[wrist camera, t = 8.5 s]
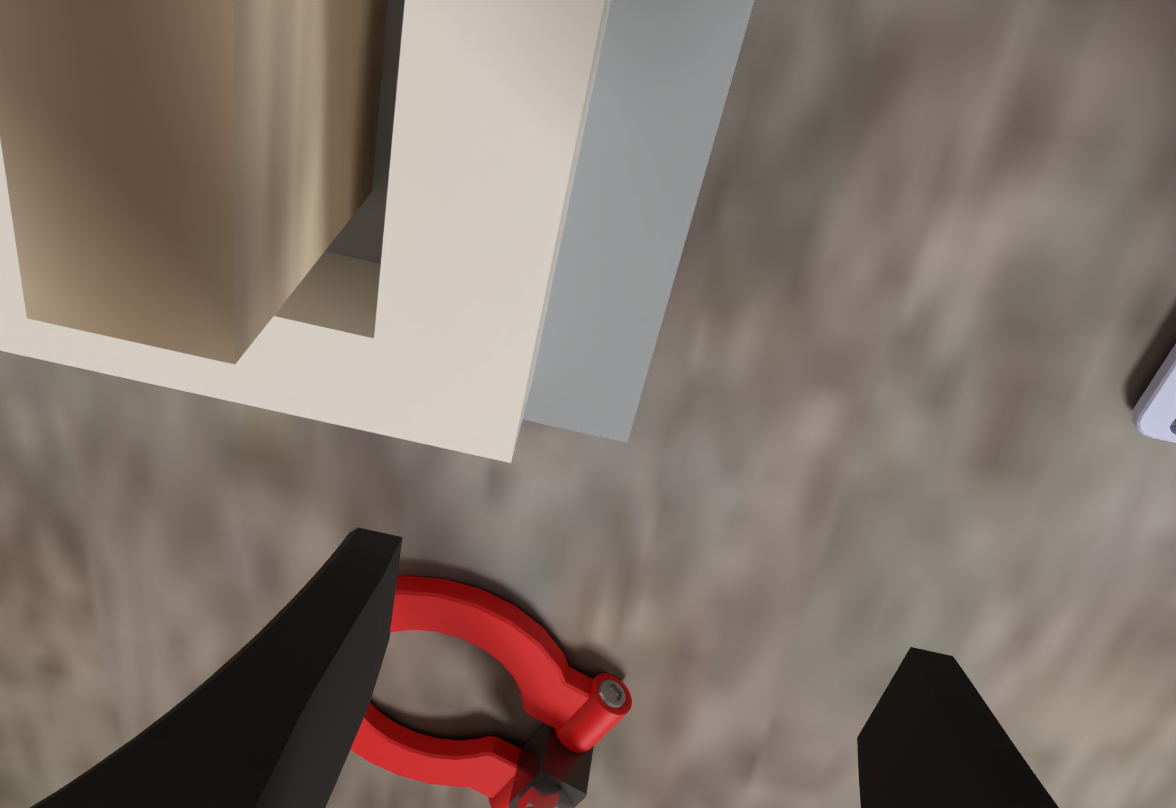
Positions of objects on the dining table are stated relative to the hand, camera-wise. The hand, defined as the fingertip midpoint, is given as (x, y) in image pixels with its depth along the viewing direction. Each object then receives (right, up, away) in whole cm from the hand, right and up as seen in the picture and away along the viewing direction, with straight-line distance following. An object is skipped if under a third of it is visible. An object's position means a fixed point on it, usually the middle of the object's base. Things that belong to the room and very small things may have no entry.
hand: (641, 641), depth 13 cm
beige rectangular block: (-6, +10, +5) cm, 13 cm away
